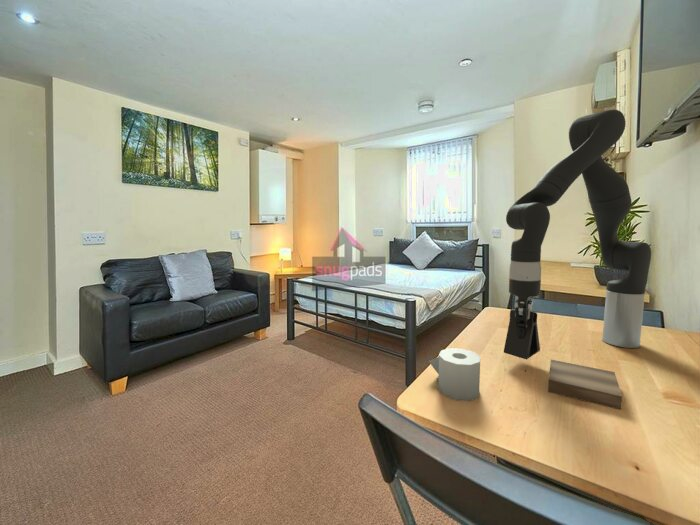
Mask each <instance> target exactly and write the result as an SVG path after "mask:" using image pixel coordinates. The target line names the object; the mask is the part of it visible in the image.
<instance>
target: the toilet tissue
mask: <svg viewBox="0 0 700 525" xmlns="http://www.w3.org/2000/svg"><path fill="white" fill-rule="evenodd" d="M428 363H429V364H430V365H431V367H432V368H433V369H434V370H435V372H436V373H437V375H438V381H437V382H438V383H437V384H438V385H437V389H438V390H439V392H440V393H441V394H442V395H443V396H445V397H447V398H449V399H453V400H455V401H463V402H465V401H466V402H471V401H473V400H476V399H479V396H480V381H481V380H480V378H481V355H479V354H477V353H476V352H474V351H472V350H468V349H465V348H456V347H454V348H453V347H451V348H448V347H447V348H446V349H441V350H440V351H439V354H438V356H437V357H435V358H433V359H430V360H428Z"/></svg>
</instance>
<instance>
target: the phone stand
mask: <svg viewBox="0 0 700 525" xmlns="http://www.w3.org/2000/svg"><path fill="white" fill-rule="evenodd" d="M509 311H510V312H509V321H508V322H509V324H508V327H507V332H506V337H505V341H504V347H503V353H504V354H507V355H511V356H513V357H516V358H519V359H524V360H528V359H530V358H531V357H532V356H534V355H536V354H538V353H539V352H540V350H541V345H540V339H539V338H540V337H539V329H538V313H537V312H535V311H532V310H531V311H530V318H529V319H528V320H527V325H528V327H527V329H526V331H525V333H524V338H523V339H518V335H517V326H516V325H515V323H516V317H515V307H513V308H511V309H510V310H509ZM527 314H528V313H527ZM519 322H522V323H524V321H523V320H519ZM521 336H522V335H521Z"/></svg>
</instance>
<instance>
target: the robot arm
mask: <svg viewBox="0 0 700 525" xmlns="http://www.w3.org/2000/svg"><path fill="white" fill-rule="evenodd" d="M626 123H627V122H626V118H625V115H624V113H623V112H622V111H621V110H618V109H607V110H602V111H599V112H596V113H591V114H588V115H584V116H581V117H578V118H576V119H574V120H573V121H572V122H571V124H570V126H569V128H568V140H569V144H570V147H571V151H572V152H571V153H569V154H568V155H566V156H565V157H563V158H561V160H559V161H558V162H556V163H554V164H553V165H552V166H551V167H549V169H548V170H547V171H546V172H545V173H544V174H543V175H542V176H541V178H539V179H538V181H537V182H536V183H535V185H534V186H533V187H532V188H531V189H530V190H528V191H527V192H526V193H524V194H523V195H522V196H521V197H520V198H518V199H517V200H516V201H515V202H514V203H512V205H511V206H510V207H509V208H508V211H507V212H506V216H505V217H506V218H505V222H506V224H507V226H508V227H510V228H511V229H513V230H518V231H520V230H521V231H523V233H522V235H521V237H520V238H518V239H514V240H513V241H512V243H511V247H510V251H511V252H510V265H509V273H508V275H509V276H508V277H509V278H508V280H509V281H508V293H509V294H511V296H517V299H515V301H514V308H515V317H516V323H515V325H516V326H517V335H518V339H523V338H524V333H525V331H526V329H527V327H528V325H527V320H528V319H529V318H530V311H531V312H532V307H533V302H534V301H533V300H532V298H533V297H535V298H536V297H538V296H540V295H541V285H542V284H541V283H542V264H541V263H542V262H541V257H542V245H543V243H544V239H545V237H546V234H547V232H548V228H549V224H550V221H551V214H550V211H549V209H548V207H551V206H553V205H555V204H556V203H558V201H559V200H560V199H561V198H562V196H563V195H564V194H565V193H566V192H567V191H568V190H569V188H570V187H571V186H572V184H573V183H574V182H575V181H576V180H577V179H578V178H579V176H580V175H582V178H583V181H584V185H585V187H586V192H587V195H588V201H589V205H590V209H591V210H592V213H593V214H592V215H593V217H594V221H595V226H596V229H597V232H598V234H597V235H598V240H599V246H600V247H599V248H600V255H601V259H602V262H603V264H604V266H605V267H606V268H608V269H611V270H617V271H624V272H625V271H627V272H628V273H627V276H626V277H623V278H619V279H613V280H609V281H607V283H606V288H605V289H606V290H605V291H606V292H605V305H604V313H603V314H604V315H603V327H602V337H601V339H602V340H601V341H603V342H604V343H606V344H609V345H612V346H616V347H618V348H619V347H621V348H627V349H637V348H640V345H641V338H642V337H641V336H642V326H643V319H644V318H643V317H644V306H645V295H646V289H647V288H646V287H647V284H648V280H649V279H648V278H649V272H650V265H651V262H652V261H651V260H652V249H651V248H652V247H651V246H650V245H649V244H648V243H647V242H644V241H643V242H642V241H620V240H619V238H618V229H619V227H620V225H621V224H622V223H623V221H624V220H625V218H626V217H627V215H628V214H629V212H630V210H631V208H632V204H633V203H632V197H631V192H630V188H629V185H628V183H627V181H626V180H625V178H624V177H623V176H622V175H620V174H619V173H618V172H617V171H616V170H615V169H614V168H613V167H611V166H610V165H609V164H608V163H607V162H606V161H605V160H604V158H603V155H604V154H605V153H606V152H607V151H609V150H610V149H611V148H612V147H613V146H614V145H615V144H616V143H617V142H618V141H619V140H620V139H621V137H622V135H623V134H624V132H625V129H626V125H627V124H626ZM580 177H581V176H580ZM527 313H528V314H527ZM519 320H523V321H524V323H522V322H519ZM521 335H522V336H521Z"/></svg>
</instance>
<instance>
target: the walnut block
mask: <svg viewBox="0 0 700 525" xmlns="http://www.w3.org/2000/svg"><path fill="white" fill-rule="evenodd" d="M547 381H548V384H547V392H549V393H552V394H557V395H560V396H565V397H568V398H572V399H575V400H580V401H584V402H588V403H591V404H592V403H593V404H597V405H600V406H604V407H607V408H612V409H617V410H620V411H621V410H622V403H623V395H622V391H621V388H620V385H619V382H618V379H617V375H616V372H615V371H611V370H606V369H601V368H595V367H591V366H586V365H582V364H576V363H571V362H565V361H560V360H555V359H550V364H549V374H548V380H547Z"/></svg>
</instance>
